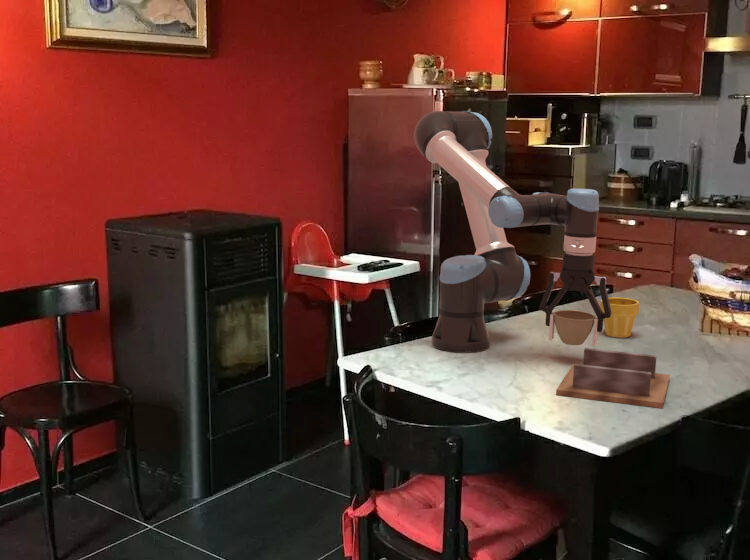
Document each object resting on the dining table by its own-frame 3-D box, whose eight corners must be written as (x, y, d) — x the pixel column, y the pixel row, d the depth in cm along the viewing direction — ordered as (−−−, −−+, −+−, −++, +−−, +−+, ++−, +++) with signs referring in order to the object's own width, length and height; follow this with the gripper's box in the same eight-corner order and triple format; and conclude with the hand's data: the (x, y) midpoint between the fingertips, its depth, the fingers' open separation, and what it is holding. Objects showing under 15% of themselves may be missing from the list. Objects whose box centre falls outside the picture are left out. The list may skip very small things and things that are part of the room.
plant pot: (596, 337, 236) (598, 302, 235) (601, 329, 246) (603, 295, 244) (635, 341, 233) (637, 305, 231) (638, 332, 242) (640, 298, 240)
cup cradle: (556, 395, 186) (557, 367, 185) (572, 368, 206) (574, 343, 205) (662, 408, 178) (664, 379, 177) (669, 379, 198) (671, 353, 197)
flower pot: (570, 350, 206) (572, 321, 204) (543, 339, 214) (545, 311, 213) (602, 345, 210) (604, 317, 209) (575, 335, 219) (577, 308, 217)
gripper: (529, 251, 208) (524, 339, 213) (625, 259, 200) (617, 351, 205) (536, 246, 215) (530, 332, 220) (628, 254, 207) (621, 343, 211)
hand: (572, 341), depth 212 cm, fingers closed on flower pot, 10 cm apart
